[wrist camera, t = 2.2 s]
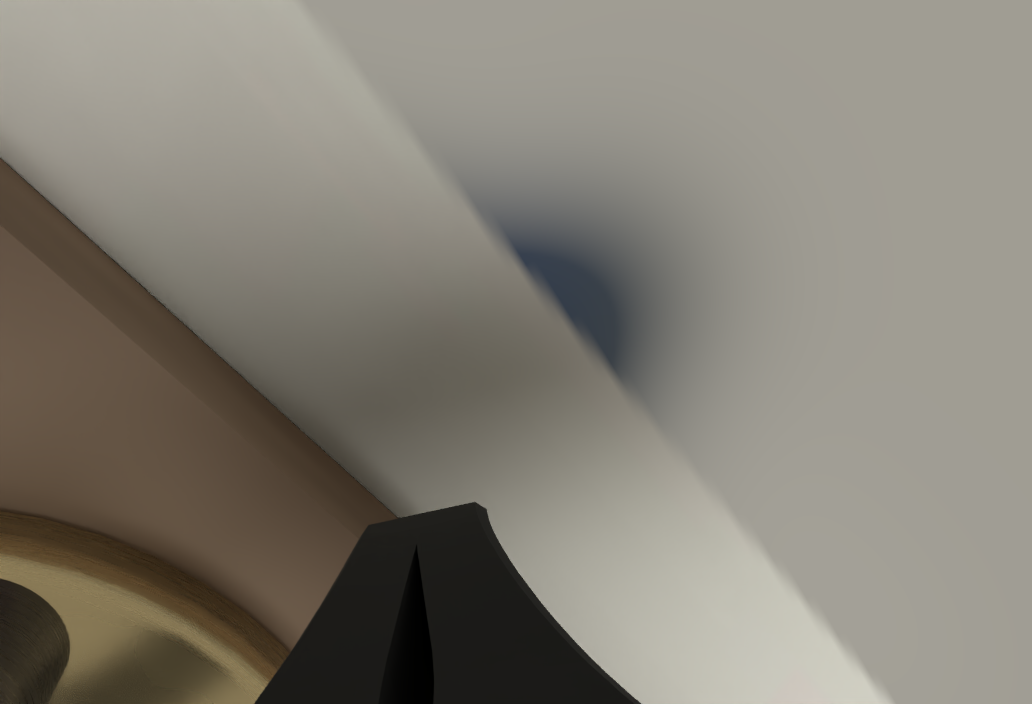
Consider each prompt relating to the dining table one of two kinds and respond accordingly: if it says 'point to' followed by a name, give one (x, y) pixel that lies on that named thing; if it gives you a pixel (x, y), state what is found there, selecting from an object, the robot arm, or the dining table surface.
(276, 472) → the walnut stand
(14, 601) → the dial
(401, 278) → the dining table surface
